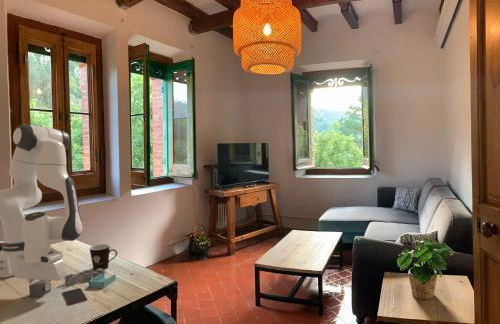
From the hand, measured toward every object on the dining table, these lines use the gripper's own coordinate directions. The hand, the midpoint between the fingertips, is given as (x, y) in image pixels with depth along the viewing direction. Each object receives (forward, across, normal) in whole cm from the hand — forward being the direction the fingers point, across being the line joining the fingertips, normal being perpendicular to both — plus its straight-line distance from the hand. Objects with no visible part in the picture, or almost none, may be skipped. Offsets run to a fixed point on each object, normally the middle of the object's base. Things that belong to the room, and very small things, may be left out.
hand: (40, 289), depth 137 cm
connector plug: (+2, 0, +2) cm, 3 cm away
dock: (+2, +18, +12) cm, 22 cm away
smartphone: (+2, +15, 0) cm, 15 cm away
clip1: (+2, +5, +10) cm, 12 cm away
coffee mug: (+2, +8, +28) cm, 29 cm away
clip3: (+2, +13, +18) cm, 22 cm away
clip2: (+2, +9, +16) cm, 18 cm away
